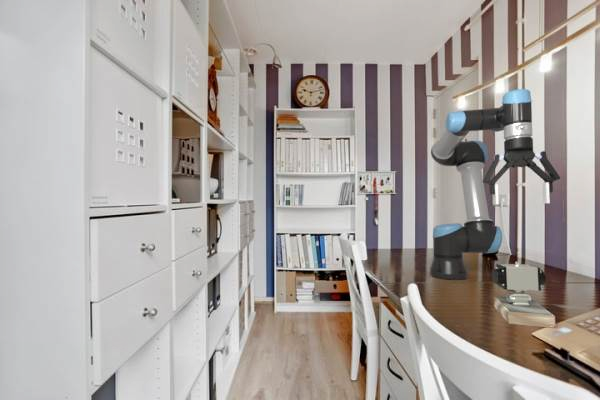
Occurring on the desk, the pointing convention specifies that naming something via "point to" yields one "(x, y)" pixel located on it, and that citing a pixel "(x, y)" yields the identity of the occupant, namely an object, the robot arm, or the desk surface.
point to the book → (524, 313)
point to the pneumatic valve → (518, 281)
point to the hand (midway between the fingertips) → (520, 203)
